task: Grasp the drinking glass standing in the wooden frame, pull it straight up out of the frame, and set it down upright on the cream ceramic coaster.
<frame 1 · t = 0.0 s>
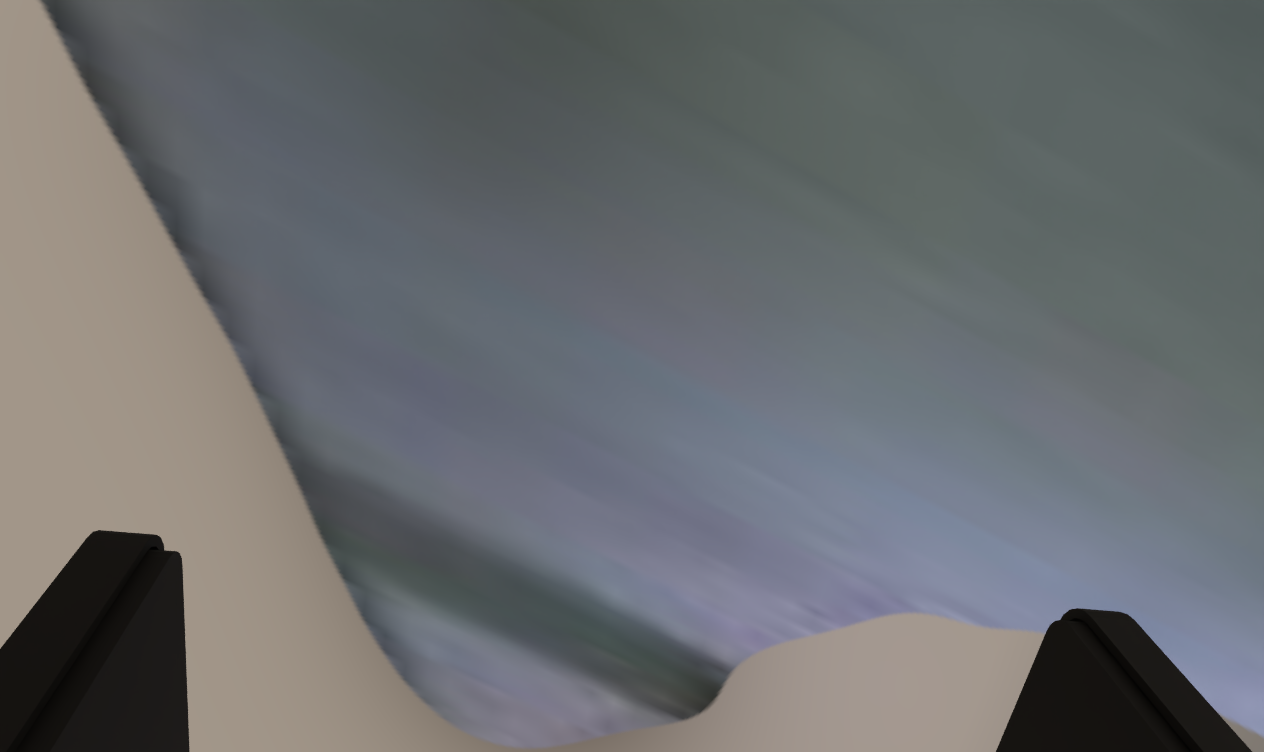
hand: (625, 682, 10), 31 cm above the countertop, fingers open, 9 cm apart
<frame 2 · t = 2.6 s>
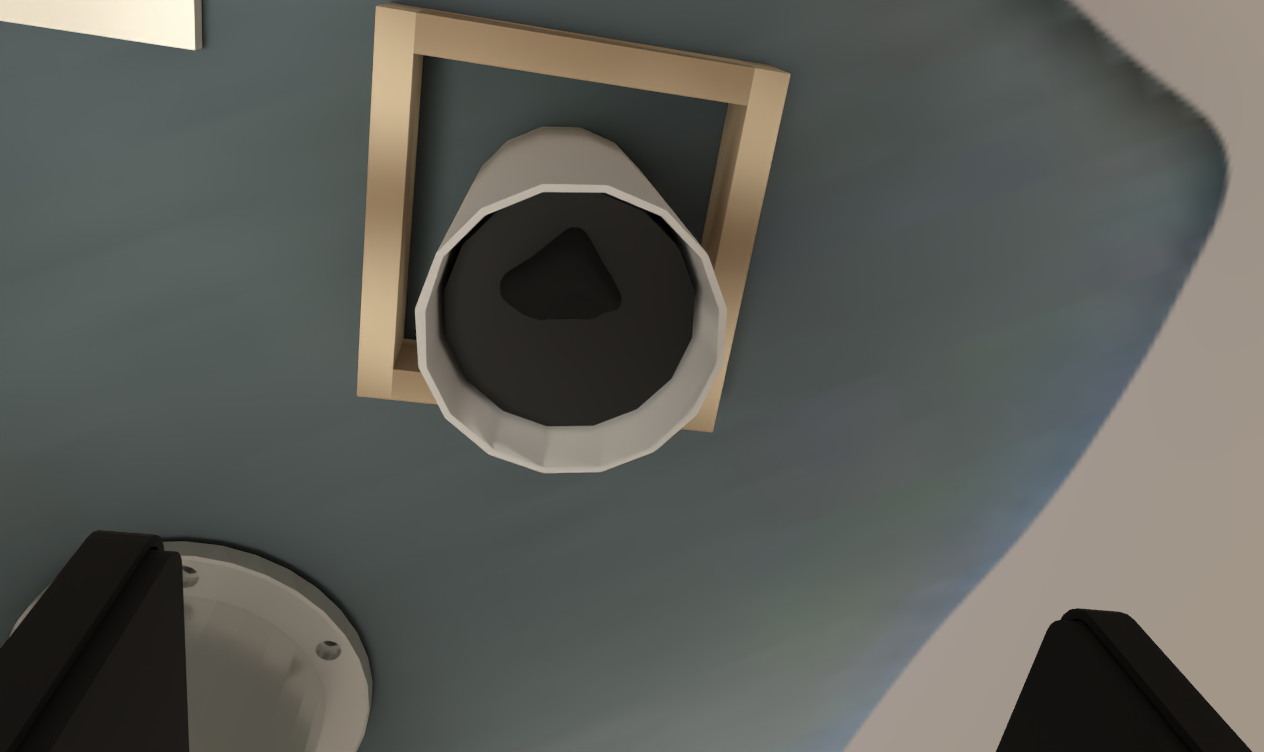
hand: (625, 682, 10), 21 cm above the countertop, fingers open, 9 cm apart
drinking glass: (560, 218, 29), resting in wooden frame
wooden frame: (560, 220, 29), on the countertop
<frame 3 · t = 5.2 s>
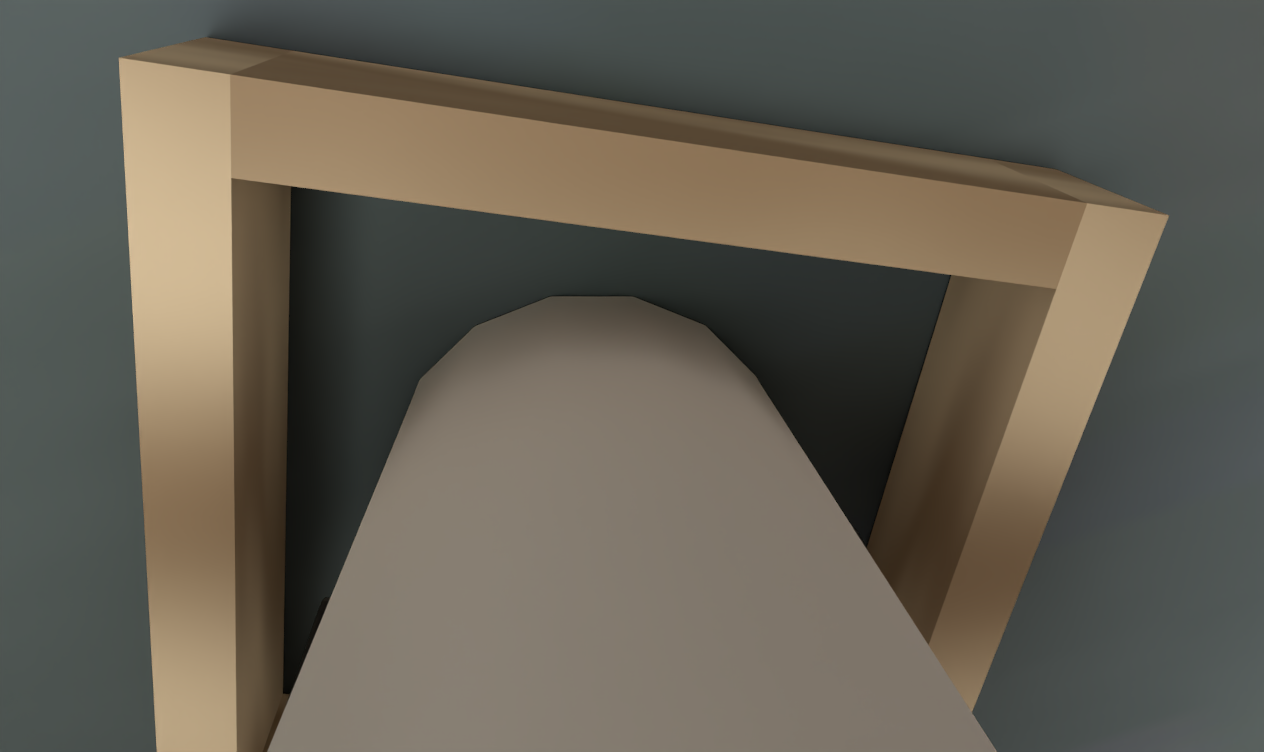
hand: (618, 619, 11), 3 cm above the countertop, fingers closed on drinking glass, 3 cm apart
drinking glass: (588, 469, 14), resting in wooden frame, touching gripper
wooden frame: (597, 480, 14), on the countertop
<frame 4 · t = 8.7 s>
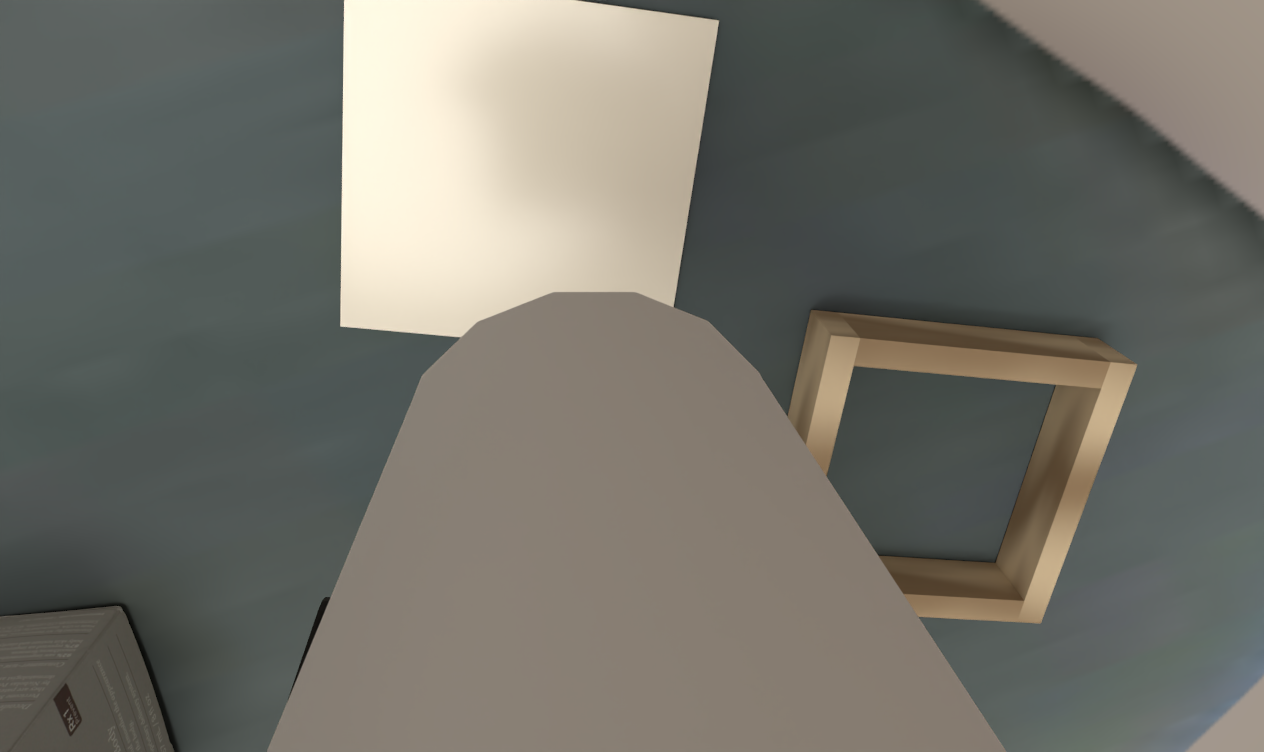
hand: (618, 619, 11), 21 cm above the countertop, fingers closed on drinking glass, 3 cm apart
drinking glass: (591, 465, 14), point 18 cm above the countertop, touching gripper
wooden frame: (919, 458, 36), on the countertop
coaster: (521, 176, 30), on the countertop
skincare box: (65, 684, 37), on the countertop
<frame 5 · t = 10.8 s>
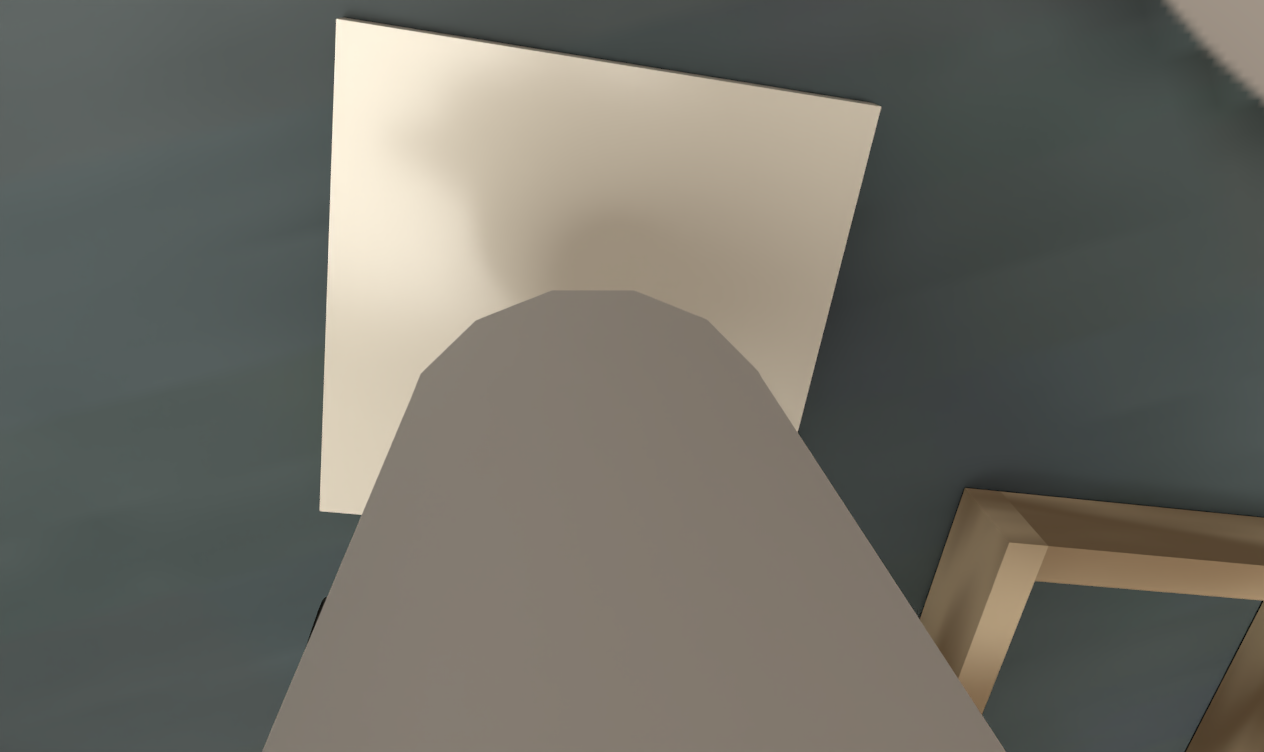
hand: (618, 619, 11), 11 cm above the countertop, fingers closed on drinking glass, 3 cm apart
drinking glass: (590, 464, 14), point 8 cm above the countertop, touching gripper
wooden frame: (1085, 669, 27), on the countertop
coaster: (581, 312, 21), on the countertop
when the fingers open (5 cm above the countertop, at t = 12.6 s): drinking glass drops 1 cm, point 1 cm above the countertop.
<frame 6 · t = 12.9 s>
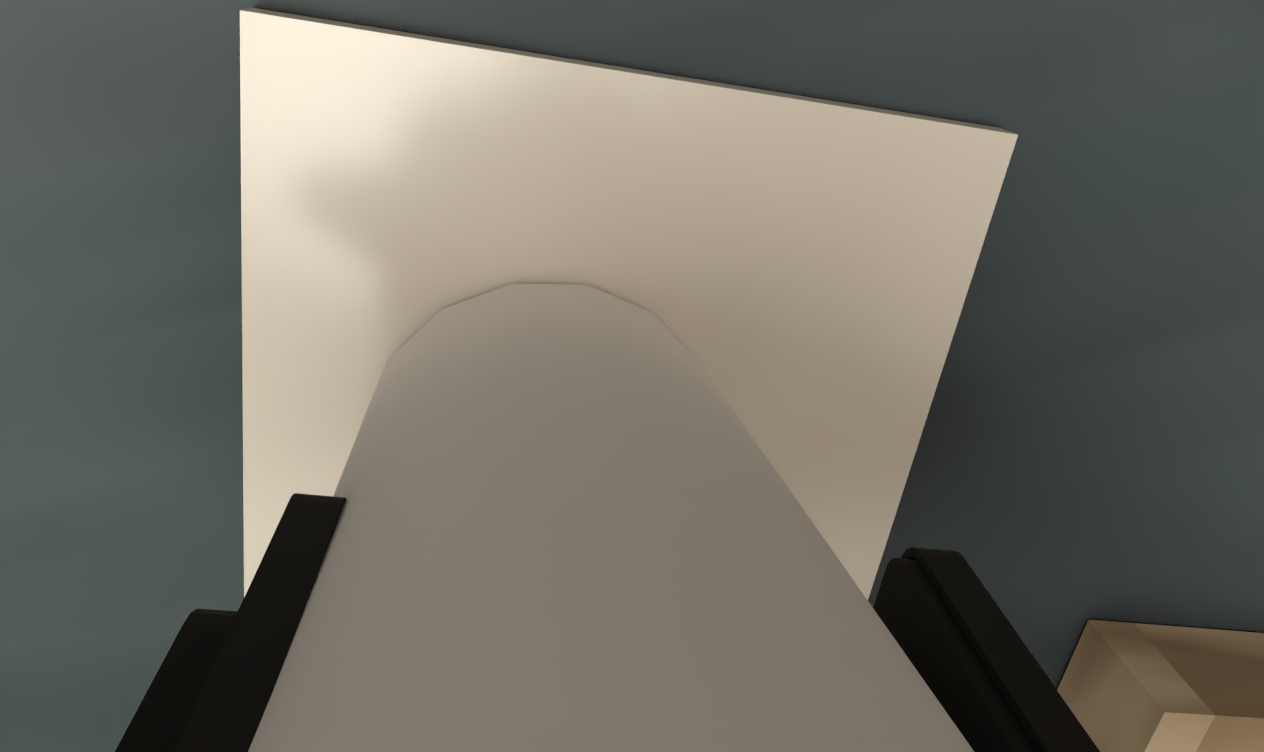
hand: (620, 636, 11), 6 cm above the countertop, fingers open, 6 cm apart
drinking glass: (544, 446, 15), point 1 cm above the countertop
coaster: (594, 409, 16), on the countertop
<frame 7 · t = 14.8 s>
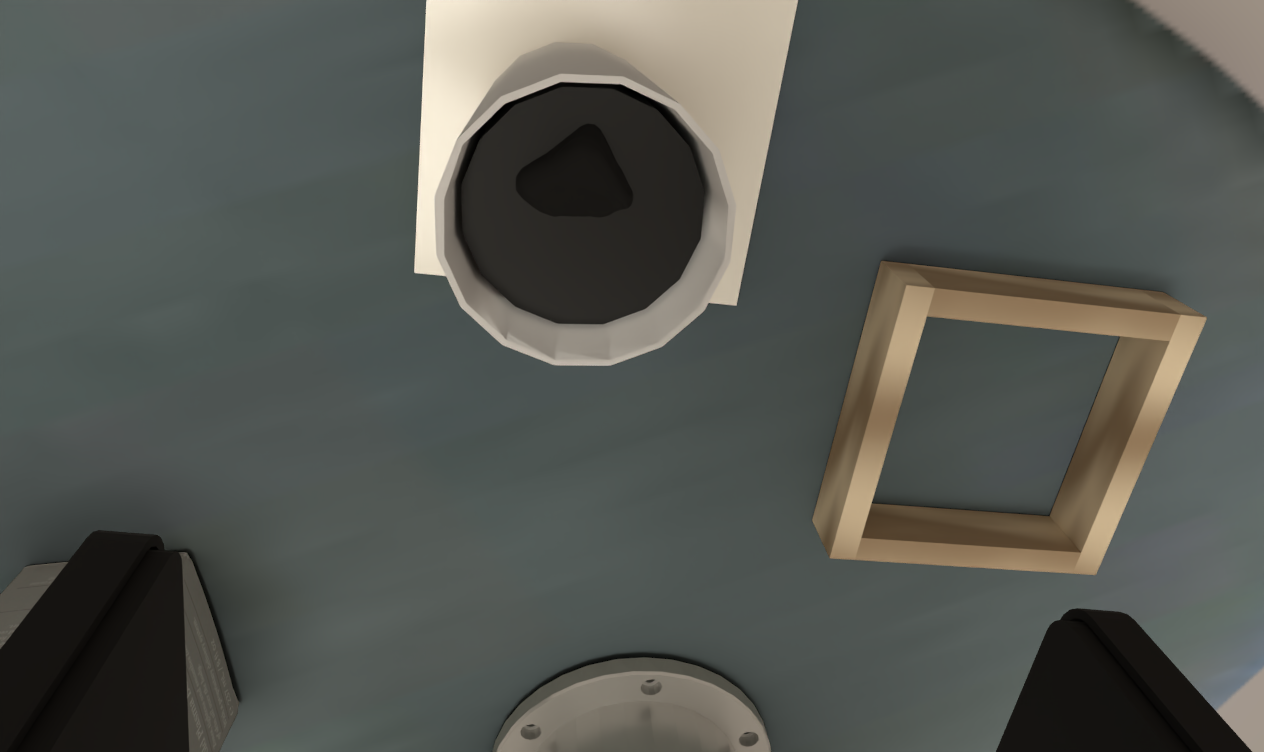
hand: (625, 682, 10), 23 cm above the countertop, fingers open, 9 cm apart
drinking glass: (571, 136, 29), resting on coaster
wooden frame: (980, 411, 36), on the countertop
coaster: (598, 122, 30), on the countertop
skincare box: (129, 630, 37), on the countertop
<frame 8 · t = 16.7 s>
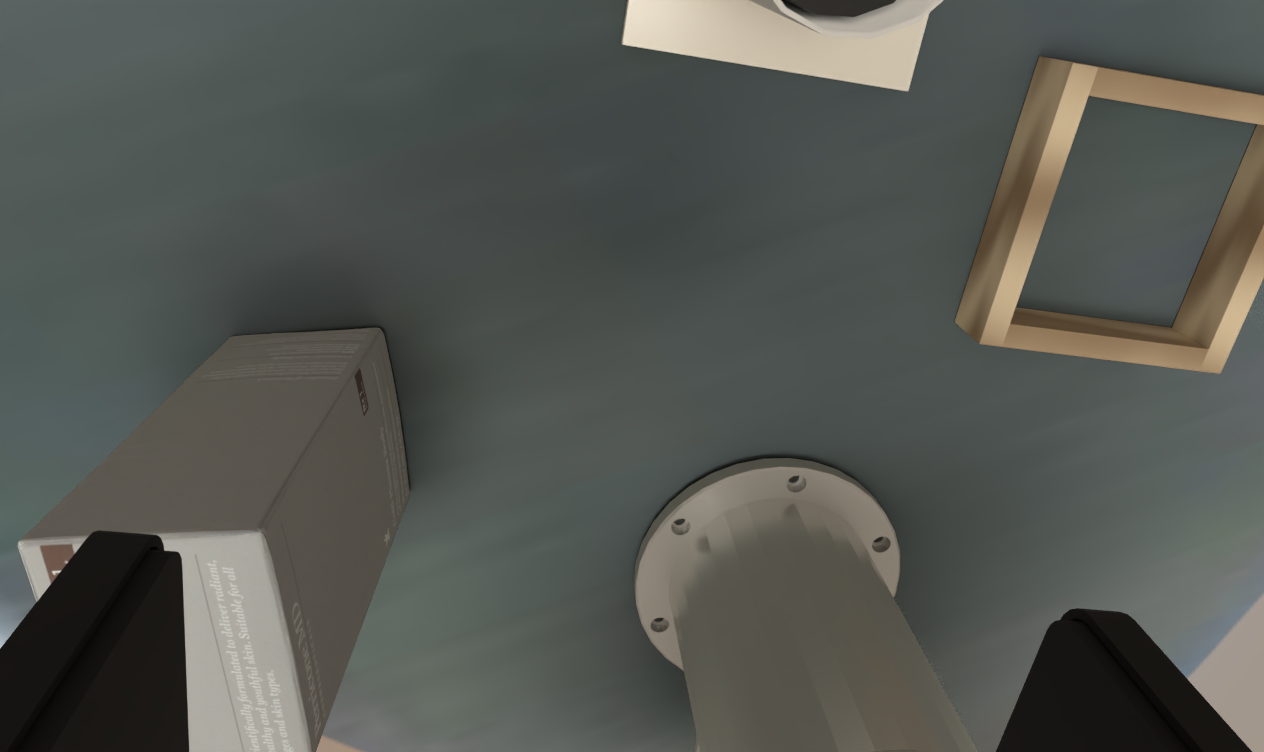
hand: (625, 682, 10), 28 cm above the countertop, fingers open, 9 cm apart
wooden frame: (1116, 214, 39), on the countertop
skincare box: (315, 410, 39), on the countertop
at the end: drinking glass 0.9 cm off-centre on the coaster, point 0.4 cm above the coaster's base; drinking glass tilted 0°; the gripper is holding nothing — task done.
